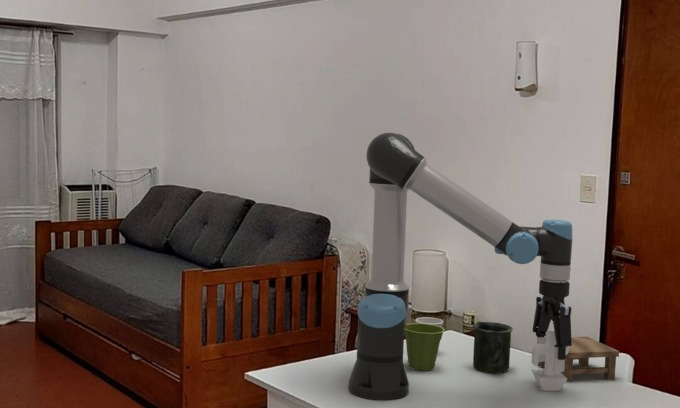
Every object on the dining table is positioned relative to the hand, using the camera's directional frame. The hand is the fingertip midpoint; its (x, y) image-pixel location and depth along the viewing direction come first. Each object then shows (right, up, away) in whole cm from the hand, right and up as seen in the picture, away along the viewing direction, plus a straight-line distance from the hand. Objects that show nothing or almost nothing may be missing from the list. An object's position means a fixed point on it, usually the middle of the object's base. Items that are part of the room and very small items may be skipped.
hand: (549, 366), depth 197 cm
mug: (-12, -5, +15) cm, 20 cm away
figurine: (0, -6, 0) cm, 6 cm away
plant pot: (-32, -4, +15) cm, 35 cm away
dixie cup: (-28, -3, +31) cm, 42 cm away
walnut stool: (+12, -5, +16) cm, 20 cm away
